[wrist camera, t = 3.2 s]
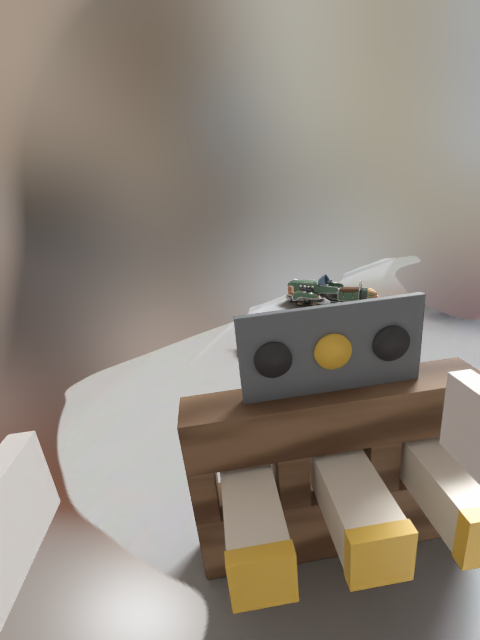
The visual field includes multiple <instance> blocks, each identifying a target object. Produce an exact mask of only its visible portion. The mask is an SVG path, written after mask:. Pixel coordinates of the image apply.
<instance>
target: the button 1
mask: <svg viewBox="0 0 480 640" xmlns="http://www.w3.org/2000/svg"><path fill="white" fill-rule="evenodd" d="M220 477H221V491H222V504H223V518H224V532H225V545H226V551H224V556H225V569H226V575H227V581H228V587H229V593H230V599H231V605H232V611H233V614H236V613H241V612H247V611H252V610H257V609H263V608H268V607H273V606H279V605H284V604H289V603H295V602H299V589H298V573H297V557H296V552H295V548H294V544H293V540H292V539H290V536H289V532H288V529H287V525H286V521H285V517H284V513H283V510H282V506H281V502H280V498H279V494H278V490H277V487H276V483H275V479H274V475H273V471H272V468H271V464H267V465H260V466H254V467H248V468H242V469H235V470H229V471H223V472H220Z"/></svg>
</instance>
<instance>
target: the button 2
mask: <svg viewBox="0 0 480 640" xmlns="http://www.w3.org/2000/svg"><path fill="white" fill-rule="evenodd" d="M439 440H440V437H435V438H429V439H422V440H416V441H410V442H404V443H402V453H401V467H400V479H401V481H402V482H403V484H404V485H405V487H406V488H407V489H408V491H409V492H410V494H411V495H412V497H413V498H414V499H415V501H416V502H417V504H418V505H419V507H420V508H421V509H422V511H423V512H424V514H425V515H426V517H427V518H428V519H429V521H430V522H431V524H432V525H433V526H434V528H435V529H436V531H437V532H438V534H439V535H440V536H441V538H442V539H443V541H444V542H445V544H446V545H447V546H448V548H449V549H450V551H451V552H452V557H453V559H454V560H455V561H456V563H457V564H458V566H459V567H460V569H461V570H462V571H465V570H470V569H475V568H480V485H479V484H478V483H477V482H476V481H475V480H474V479H473V478H472V477H471V476H470V475H469V474H468V473H467V472H466V471H465V469H464V468H463V467H462V466H461V465H460V464H459V463H458V462H457V461H456V460H455V459H454V458H453V457H452V456H451V455H450V454H449V453H448V452H447V451H446V450H445V448H444V447H443V446H442V445H441V444H440V443H439Z"/></svg>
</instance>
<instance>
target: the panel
mask: <svg viewBox="0 0 480 640" xmlns="http://www.w3.org/2000/svg"><path fill="white" fill-rule="evenodd" d="M466 369H472V370H473V371H475V372H476V373H478V374H479V375H480V371H479V370H477V369H476V368H474V367H473V366H471V365H469V364H468V363H466V362H465V361H463V360H462V359H460V358H458V357H457V358H450V359H443V360H436V361H429V362H422V363H420V365H419V377H418V379H412V380H406V381H399V382H392V383H385V384H379V385H372V386H365V387H358V388H352V389H345V390H338V391H331V392H325V393H318V394H311V395H304V396H298V397H291V398H284V399H277V400H271V401H264V402H257V403H251V404H244V403H243V396H242V389H236V390H229V391H223V392H216V393H209V394H202V395H195V396H188V397H181V398H180V405H179V415H178V426H177V429H178V434H179V439H180V445H181V450H182V455H183V460H184V465H185V470H186V475H187V480H188V485H189V491H190V496H191V501H192V506H193V511H194V516H195V521H196V526H197V531H198V536H199V542H200V547H201V552H202V557H203V562H204V567H205V572H206V577H207V580H210V579H215V578H221V577H226V576H227V575H226V569H225V556H224V551H226V545H225V532H224V518H223V504H222V491H221V483H218V477H217V472H223V471H229V470H235V469H242V468H248V467H254V466H260V465H267V464H271V467H272V471H273V475H274V479H275V483H276V487H277V490H278V494H279V498H280V502H281V506H282V510H283V513H284V517H285V521H286V525H287V529H288V532H289V536H290V539H292V540H293V544H294V548H295V552H296V557H297V564H298V563H304V562H309V561H315V560H320V559H326V558H331V557H337V556H338V554H337V551H336V548H335V546H334V543H333V541H332V538H331V535H330V533H329V530H328V527H327V525H326V522H325V520H324V517H323V514H322V512H321V509H320V507H319V504H318V501H317V499H316V496H315V493H314V491H313V488H312V486H311V483H310V457H316V456H323V455H329V454H335V453H341V452H348V451H354V450H360V449H363V451H364V452H365V454H366V455H367V457H368V459H369V460H370V462H371V463H372V465H373V466H374V468H375V470H376V471H377V473H378V474H379V476H380V477H381V479H382V481H383V482H384V484H385V485H386V487H387V488H388V490H389V492H390V493H391V495H392V496H393V498H394V499H395V501H396V503H397V504H398V506H399V507H400V509H401V510H402V512H403V514H404V515H405V517H406V518H407V519H410V520H411V522H412V524H413V525H414V527H415V528H416V530H417V531H418V542H420V541H425V540H431V539H437V538H441V536H440V535H439V534H438V532H437V531H436V529H435V528H434V526H433V525H432V524H431V522H430V521H429V519H428V518H427V517H426V515H425V514H424V512H423V511H422V509H421V508H420V507H419V505H418V504H417V502H416V501H415V499H414V498H413V497H412V495H411V494H410V492H409V491H408V489H407V488H406V487H405V485H404V484H403V482H402V481H401V479H400V467H401V453H402V443H404V442H410V441H416V440H422V439H429V438H435V437H440V432H441V424H442V416H443V407H444V399H445V391H446V383H447V374H448V372H452V371H459V370H466Z"/></svg>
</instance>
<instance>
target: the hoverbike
mask: <svg viewBox="0 0 480 640" xmlns="http://www.w3.org/2000/svg"><path fill="white" fill-rule="evenodd" d="M294 279H295V278H294ZM331 281H332V280H331ZM331 281H330V280H329V278H328V277H327V275H324V276H322V277H321V278H320V279H319V280H293V281H291V282H290V283H288V295H287V297H286V298H287V299H291V300H290V301H291V302H292V300H293V301H297V302H295V303H297V304H298V305H302V303H303V301H304V300H305V301H306V302H307V301H308V300H311V301H310V302H311V304H312V306H316V305H317V301H316V300H317V299H319V297H318V296H319V295H320V296H321V297H322V298H324V297H325V298H326V299H328V300H330V301H334V302H330V303H338V302H348V301H355V300H363V299H370V298H377V297H378V295H377V292H376V291H375V290H373V289H371V288H368V289H367V288H362V284H359V287H343V286H344V285H343V284H342V283H335V282H331ZM360 282H361V283H362V281H361V280H360ZM360 285H361V288H360ZM292 296H293V299H292ZM290 297H291V298H290ZM290 301H289V302H290Z"/></svg>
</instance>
